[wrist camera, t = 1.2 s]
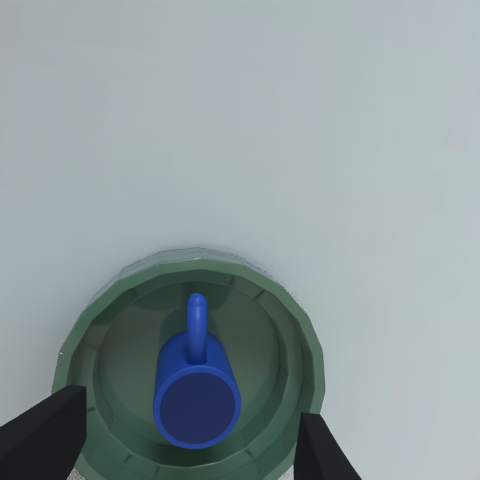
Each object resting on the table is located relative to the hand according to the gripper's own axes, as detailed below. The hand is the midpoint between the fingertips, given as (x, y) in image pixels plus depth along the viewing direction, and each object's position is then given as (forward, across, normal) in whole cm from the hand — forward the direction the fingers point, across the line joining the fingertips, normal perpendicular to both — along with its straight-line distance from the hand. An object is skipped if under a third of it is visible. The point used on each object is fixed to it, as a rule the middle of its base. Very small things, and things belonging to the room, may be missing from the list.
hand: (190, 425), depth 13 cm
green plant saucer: (+10, +2, +4) cm, 11 cm away
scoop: (+10, +2, +2) cm, 10 cm away
